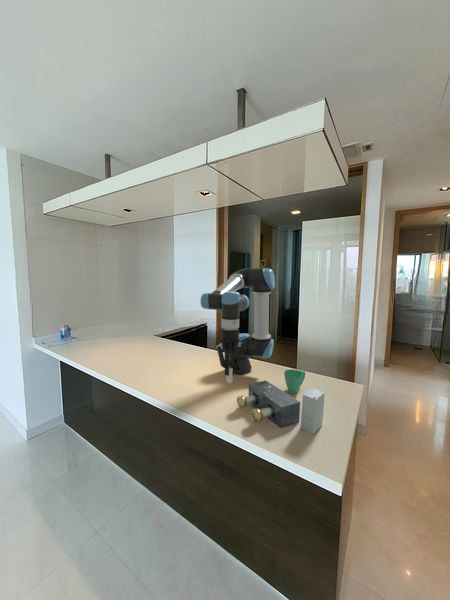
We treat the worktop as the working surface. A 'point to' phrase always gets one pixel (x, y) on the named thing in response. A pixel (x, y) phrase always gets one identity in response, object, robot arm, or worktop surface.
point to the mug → (294, 379)
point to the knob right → (262, 413)
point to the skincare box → (312, 410)
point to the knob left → (247, 400)
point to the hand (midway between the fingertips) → (229, 381)
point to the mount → (276, 403)
